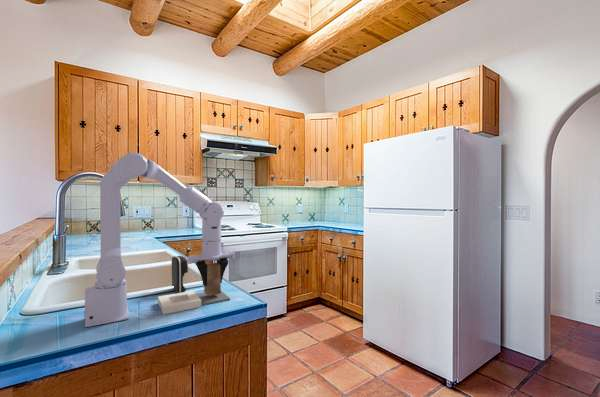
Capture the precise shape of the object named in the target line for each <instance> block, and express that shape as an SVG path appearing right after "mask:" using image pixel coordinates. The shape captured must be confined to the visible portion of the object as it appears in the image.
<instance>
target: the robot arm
mask: <svg viewBox="0 0 600 397" xmlns="http://www.w3.org/2000/svg"><path fill="white" fill-rule="evenodd" d="M141 176H143V177H142V178H143V179H147V180H148V179H149V180H155V181H157V182H158V183H159V184H160V185H162V186H165V187H166V188H168V189H169V190H170V191H172V192H174V193H175V194H177V195H178V197H179V202H181V203H182V204H183V205H185V206H186V207H188V208H189V209H191V210H192V211H194V212H195V213H197V214H198V215H199V216H200V218H201V221H202V222H201V224H202V225H201V238H202V239H201V245H202V246H201V247H202V248H201V249H202V250H201V254H196V255H191V256H187V257H186V259H187V263H188V265H191V264H195V265H196V267H197V270H198V272H199V275H200V276H201V281H202V285H203V287H204V286H207V265H206V264H207V262H212V261H213V262H214V261H215V262H217V263H218V264H220V280H221V284H222V283H223V282H222V281H223V278H224V273H225V271H226V269H227V267H228V265H229V260H230V259H232V260H233V259H236V252H235V251H222V218H223V217H224V213H225V212H224V210H223V208H222V206H221V204H219V203H217V202H213V198H212V197H208V196H206V195H205V194H204V193H202V191H201V189H200V187H198V186H195V187H194V186H193V185H191V186H186V185H184V184H183V183H182V182H180V181H179V180H178V179H177V178H175V177H174V176H173V175H172V174H170V173H169V172H168V171H167V170H165V169H164V168H163V167H161V166H160V165H159V164H157V162H155V161H153V160H151V159H149V158H146V157H145V156H144V155H143V154H141V153H139V152H135V151H134V152H129V153H127V154H125V155H122V156H121V157H120V158H118V159H117V160H116V161H115V163H113V165H112V166H111V167H110V168H109V170H108V171H107V172H106V173H105V174H104V175H103V177H102V178H101V179H100V185H99V186H100V187H99V188H100V190H99V192H100V193H99V194H100V196H99V197H100V203H99V205H100V210H99V211H100V258H99V261H98V263H97V265H96V267H95V268H96V270H95V271H96V282H94V284H93V286H90V287H89V286H88V287H86V288H85V290H84V291H85V292H84V311H83V317H84V321H85V322H84V324H85V325H84V327H85V328H88V327H89V328H90V327H94V326H98V325H104V324H105V325H106V324H110V323H114V322H115V323H116V322H120V321H126V320H129V319H130V314H129V313H130V312H129V308H128V294H127V293H128V292H127V290H128V289H127V287H128V286H127V279H125V277H126V268H125V266H124V263H123V260H122V251H121V250H122V249H121V248H122V246H121V245H122V244H121V243H122V242H121V238H122V237H121V236H122V234H121V230H122V228H121V223H122V222H121V189H122V188H123V187H124V186H125V185H127V184H128V183H130V181H131V180H134V179H136V178H138V177H141Z"/></svg>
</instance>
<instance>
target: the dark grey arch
mask: <svg viewBox="0 0 600 397" xmlns="http://www.w3.org/2000/svg"><path fill="white" fill-rule="evenodd" d="M187 273H189V264H188V263H187V257H186V256H182V255H177V256H176V255H175V256H172V257H171V287H172V286H174V289H175V290H174V289H173V290H174V291H175V292H176V293H182V292H187V291H186V290H187V288H186V287H185V286H184V283H183V281H184V276H185V274H187Z"/></svg>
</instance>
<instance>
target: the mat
mask: <svg viewBox="0 0 600 397" xmlns="http://www.w3.org/2000/svg"><path fill="white" fill-rule="evenodd" d="M196 294H197V296H198V297H199V298H200V299H201V305H203V306H206V305H212V304H217V303H221V302H227V301H230V300H231V298H230V297H229V296H228V295H227V294H226V293H225V292H223V291H222V290H221V294H216V295H210V296H207V295H206V294H205V293H204V292H200V293H196Z"/></svg>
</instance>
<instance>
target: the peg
mask: <svg viewBox="0 0 600 397" xmlns="http://www.w3.org/2000/svg"><path fill="white" fill-rule="evenodd" d="M206 265H207V286H204V285H203V287H204V289H203V290H204V291H203V293H205V294H206V295H207V296H210V295H216V294H221V291H222V289H221V284H222V283H221V280H220V264H218V263H217V261H215V262H208V263H206Z"/></svg>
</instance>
